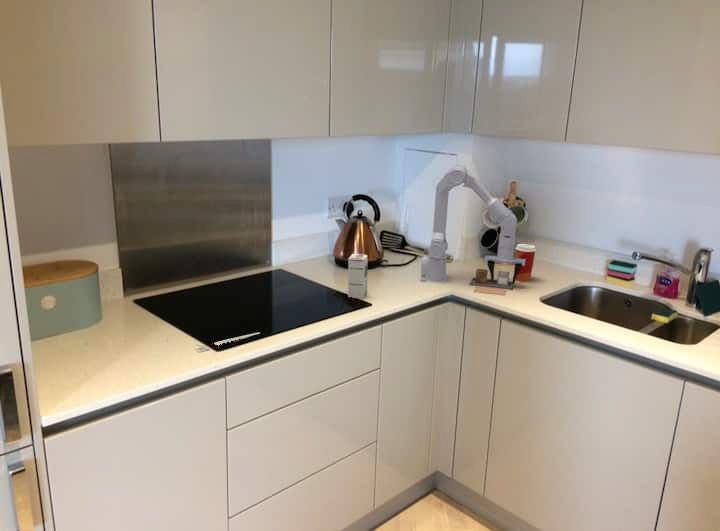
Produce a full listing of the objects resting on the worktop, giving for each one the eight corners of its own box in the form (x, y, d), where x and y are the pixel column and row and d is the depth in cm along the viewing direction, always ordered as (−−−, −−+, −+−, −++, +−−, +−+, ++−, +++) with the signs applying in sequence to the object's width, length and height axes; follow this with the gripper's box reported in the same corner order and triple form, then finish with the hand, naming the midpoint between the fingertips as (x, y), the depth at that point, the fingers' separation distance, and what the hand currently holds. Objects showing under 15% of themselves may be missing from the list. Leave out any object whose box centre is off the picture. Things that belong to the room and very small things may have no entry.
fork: (263, 336, 172) (263, 330, 172) (200, 353, 159) (200, 347, 159) (256, 333, 175) (256, 327, 174) (194, 349, 161) (194, 343, 161)
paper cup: (516, 276, 236) (519, 242, 232) (535, 280, 231) (539, 245, 228) (509, 281, 229) (512, 246, 225) (528, 285, 225) (532, 249, 221)
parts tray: (469, 286, 222) (469, 282, 222) (471, 280, 229) (471, 277, 229) (512, 290, 218) (512, 287, 218) (513, 284, 225) (513, 281, 225)
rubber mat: (473, 292, 214) (473, 291, 214) (475, 287, 221) (475, 285, 221) (504, 296, 211) (505, 294, 211) (505, 290, 218) (505, 289, 218)
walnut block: (474, 284, 223) (476, 271, 222) (475, 281, 227) (477, 268, 225) (485, 285, 222) (486, 272, 221) (486, 282, 226) (487, 269, 224)
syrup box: (364, 299, 204) (365, 258, 200) (347, 297, 205) (348, 257, 201) (367, 294, 210) (368, 254, 206) (350, 292, 211) (351, 253, 207)
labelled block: (496, 286, 221) (497, 273, 219) (497, 283, 225) (498, 270, 223) (507, 287, 220) (509, 274, 218) (508, 284, 224) (509, 271, 222)
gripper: (485, 247, 216) (482, 282, 220) (526, 251, 213) (522, 287, 216) (487, 242, 223) (483, 277, 227) (526, 246, 219) (523, 281, 223)
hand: (502, 281), depth 222 cm, fingers open, 7 cm apart
